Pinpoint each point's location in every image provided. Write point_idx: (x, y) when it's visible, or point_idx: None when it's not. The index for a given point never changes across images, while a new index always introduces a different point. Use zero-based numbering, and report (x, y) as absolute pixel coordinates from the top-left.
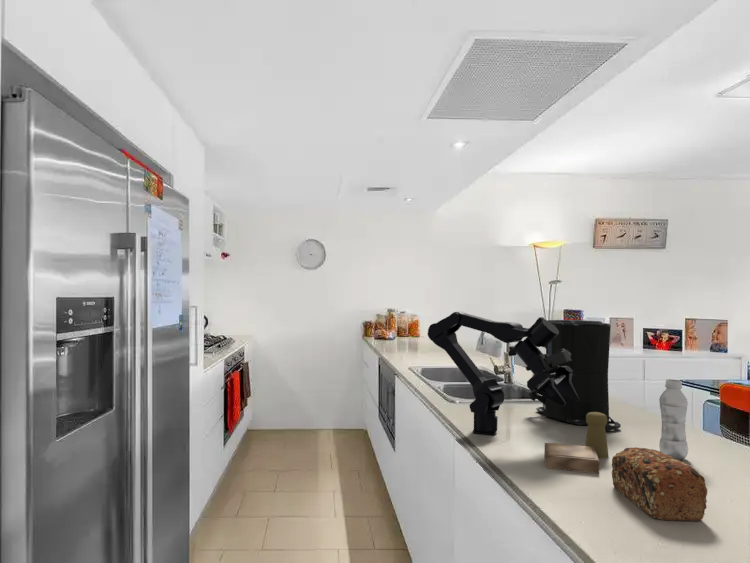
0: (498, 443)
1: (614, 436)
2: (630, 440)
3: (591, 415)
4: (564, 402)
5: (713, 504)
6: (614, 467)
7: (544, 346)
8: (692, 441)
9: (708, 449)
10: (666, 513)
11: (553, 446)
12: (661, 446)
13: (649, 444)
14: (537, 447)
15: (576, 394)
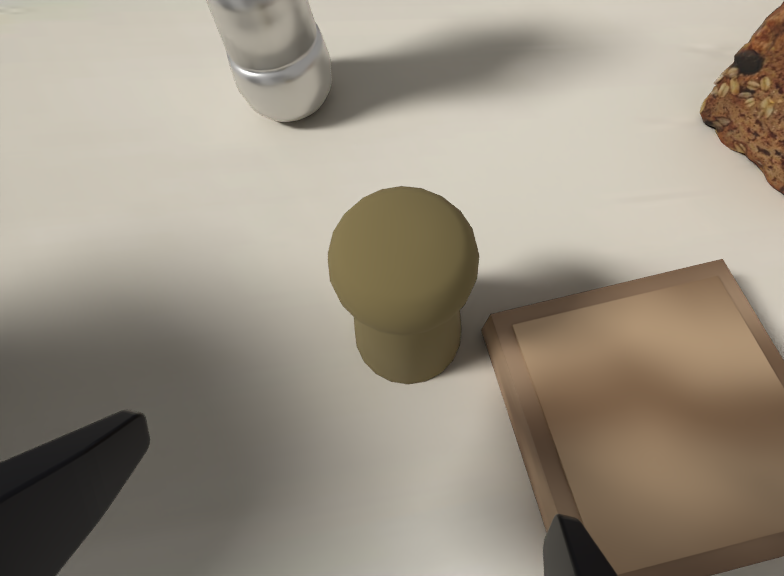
0: None
1: (23, 302)
2: (80, 237)
3: (464, 271)
4: (587, 536)
5: (715, 8)
6: None
7: None
8: (29, 69)
9: (127, 32)
10: None
11: (662, 521)
12: (303, 93)
13: (125, 173)
14: None
15: (73, 446)
